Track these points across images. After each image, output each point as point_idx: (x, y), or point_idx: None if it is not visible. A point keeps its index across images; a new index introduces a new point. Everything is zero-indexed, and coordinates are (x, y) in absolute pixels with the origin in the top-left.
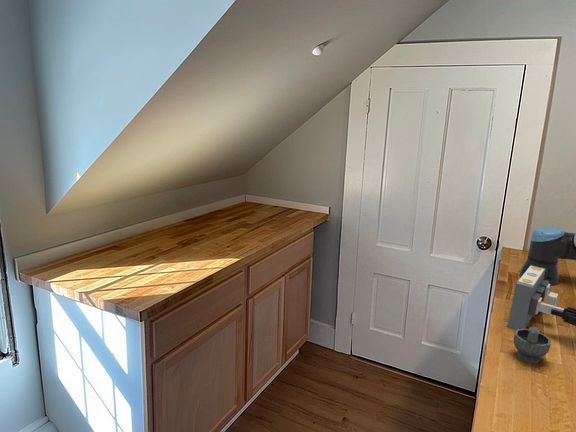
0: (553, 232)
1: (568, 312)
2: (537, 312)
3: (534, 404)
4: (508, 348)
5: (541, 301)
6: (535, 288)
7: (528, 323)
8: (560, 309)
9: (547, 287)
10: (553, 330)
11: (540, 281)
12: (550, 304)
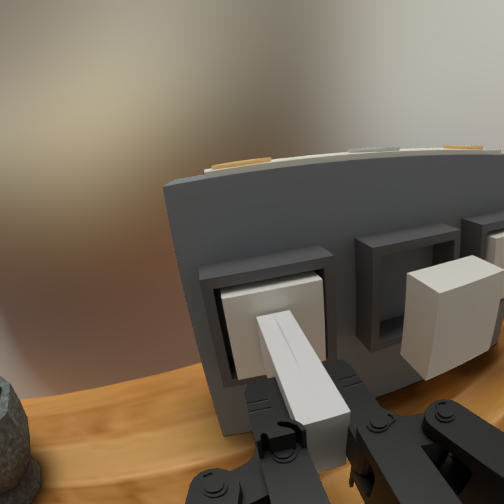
0: None
1: (302, 474)
2: (242, 370)
3: None
4: (42, 432)
5: None
6: (312, 213)
7: None
8: (289, 408)
9: (494, 237)
10: None
11: (454, 199)
12: (416, 339)
